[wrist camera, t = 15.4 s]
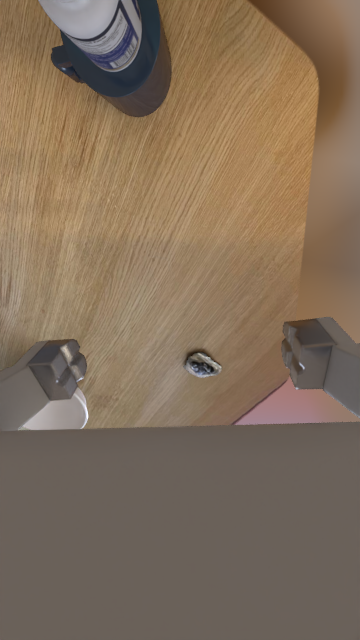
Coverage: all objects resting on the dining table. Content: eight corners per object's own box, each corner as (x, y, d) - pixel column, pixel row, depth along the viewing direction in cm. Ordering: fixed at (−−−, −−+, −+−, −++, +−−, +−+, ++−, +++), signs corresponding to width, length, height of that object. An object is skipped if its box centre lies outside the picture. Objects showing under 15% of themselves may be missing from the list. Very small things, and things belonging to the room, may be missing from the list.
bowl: (52, 338, 49) (33, 359, 43) (115, 397, 57) (106, 421, 51) (-5, 372, 55) (-27, 394, 50) (59, 421, 63) (46, 444, 58)
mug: (163, 2, 24) (147, -76, 17) (177, 108, 29) (169, 85, 21) (67, 31, 26) (11, -28, 18) (93, 128, 30) (57, 112, 23)
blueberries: (192, 346, 47) (191, 353, 46) (228, 359, 48) (229, 365, 47) (180, 370, 51) (179, 376, 49) (214, 381, 52) (215, 387, 50)
